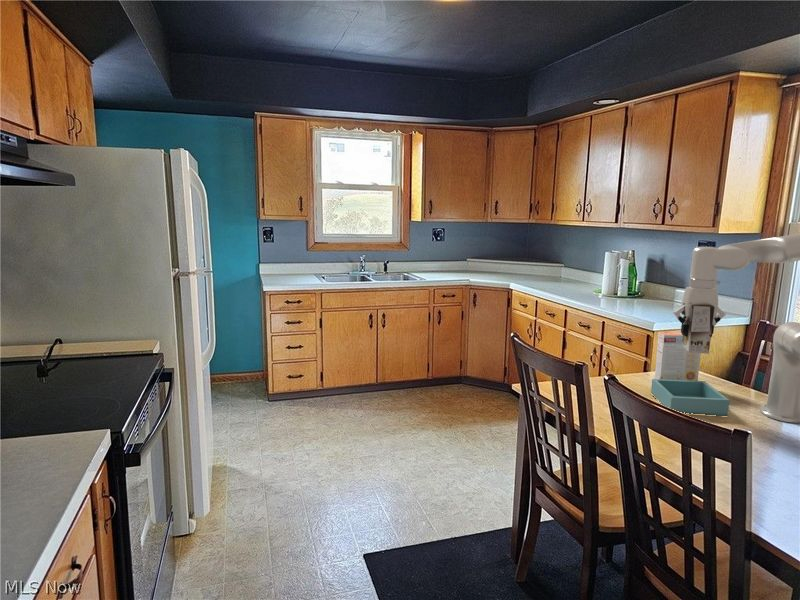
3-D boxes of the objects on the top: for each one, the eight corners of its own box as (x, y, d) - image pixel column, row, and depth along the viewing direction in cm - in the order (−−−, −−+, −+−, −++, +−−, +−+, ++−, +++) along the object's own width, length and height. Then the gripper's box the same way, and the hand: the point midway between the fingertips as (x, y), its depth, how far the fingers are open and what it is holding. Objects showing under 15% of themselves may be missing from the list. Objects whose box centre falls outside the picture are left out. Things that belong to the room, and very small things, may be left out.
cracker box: (690, 382, 195) (695, 331, 192) (697, 387, 190) (703, 335, 186) (653, 381, 197) (658, 330, 193) (659, 386, 191) (664, 334, 187)
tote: (702, 396, 181) (704, 381, 180) (727, 417, 163) (729, 400, 162) (650, 394, 183) (652, 378, 182) (669, 414, 166) (671, 397, 165)
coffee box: (709, 354, 163) (715, 306, 160) (688, 352, 165) (693, 305, 162) (701, 346, 172) (707, 301, 169) (681, 345, 174) (686, 300, 170)
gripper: (724, 282, 167) (718, 333, 170) (670, 282, 169) (665, 332, 172) (736, 286, 159) (729, 339, 163) (679, 285, 161) (674, 338, 165)
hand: (696, 335), depth 167 cm, fingers closed on coffee box, 7 cm apart
